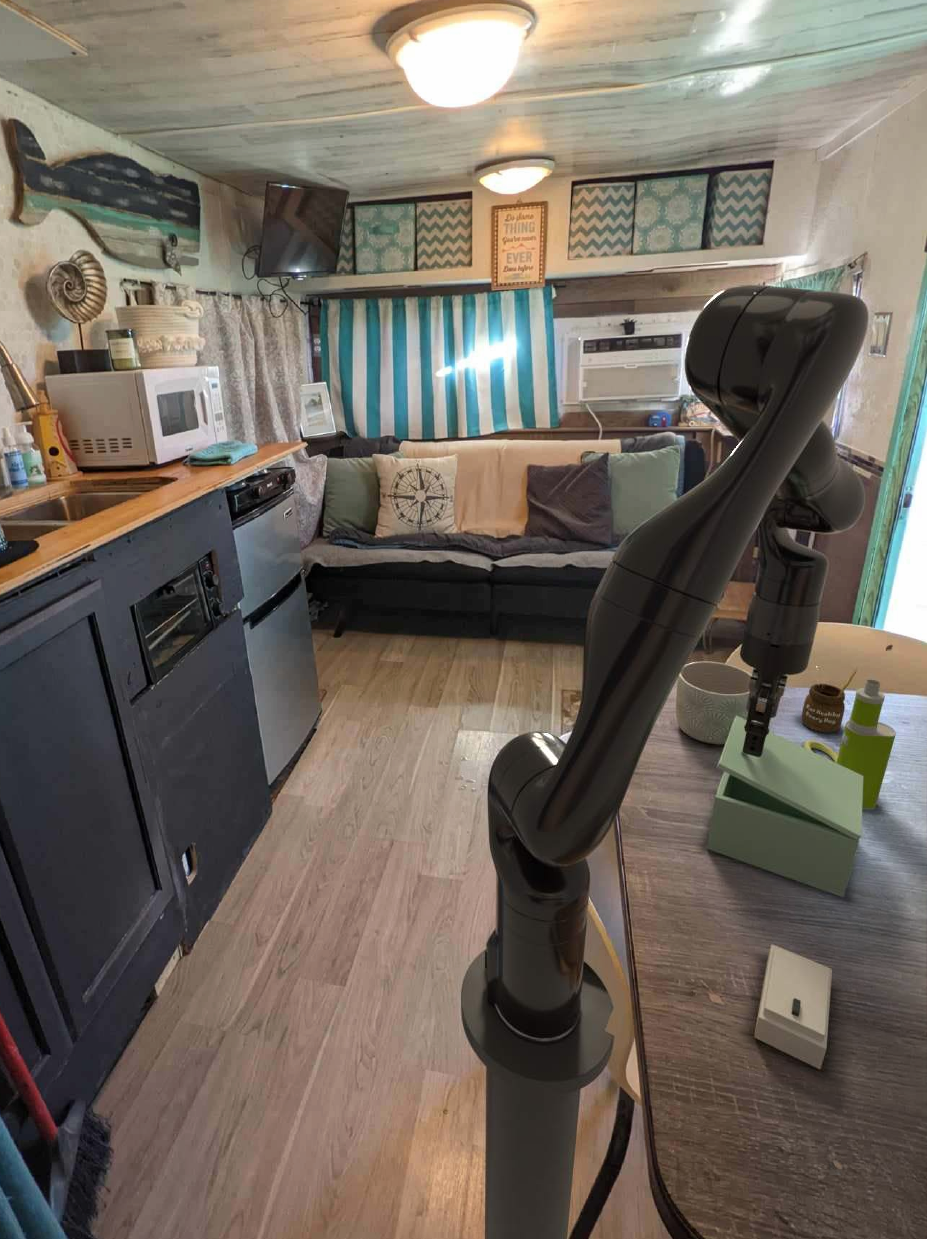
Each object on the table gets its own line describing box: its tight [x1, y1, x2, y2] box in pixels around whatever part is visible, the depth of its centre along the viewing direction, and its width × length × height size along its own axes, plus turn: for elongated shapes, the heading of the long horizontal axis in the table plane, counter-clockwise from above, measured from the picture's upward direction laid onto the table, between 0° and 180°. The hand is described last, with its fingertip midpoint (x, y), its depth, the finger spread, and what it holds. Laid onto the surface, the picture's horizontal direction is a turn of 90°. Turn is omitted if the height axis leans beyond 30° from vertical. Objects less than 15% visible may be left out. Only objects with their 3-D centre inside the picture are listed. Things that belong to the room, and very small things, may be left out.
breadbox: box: [706, 771, 860, 898], centre depth 87 cm, size 16×14×9 cm
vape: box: [836, 679, 897, 810], centre depth 92 cm, size 4×6×20 cm, turn 79°
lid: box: [716, 716, 863, 841], centre depth 84 cm, size 16×14×5 cm
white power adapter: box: [753, 944, 833, 1070], centre depth 66 cm, size 10×6×4 cm, turn 144°
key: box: [803, 740, 839, 763], centre depth 104 cm, size 7×12×2 cm, turn 98°
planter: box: [675, 660, 752, 745], centre depth 112 cm, size 12×12×11 cm
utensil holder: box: [800, 666, 858, 734], centre depth 112 cm, size 6×6×12 cm
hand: (754, 743), depth 86 cm, fingers closed on lid, 5 cm apart
